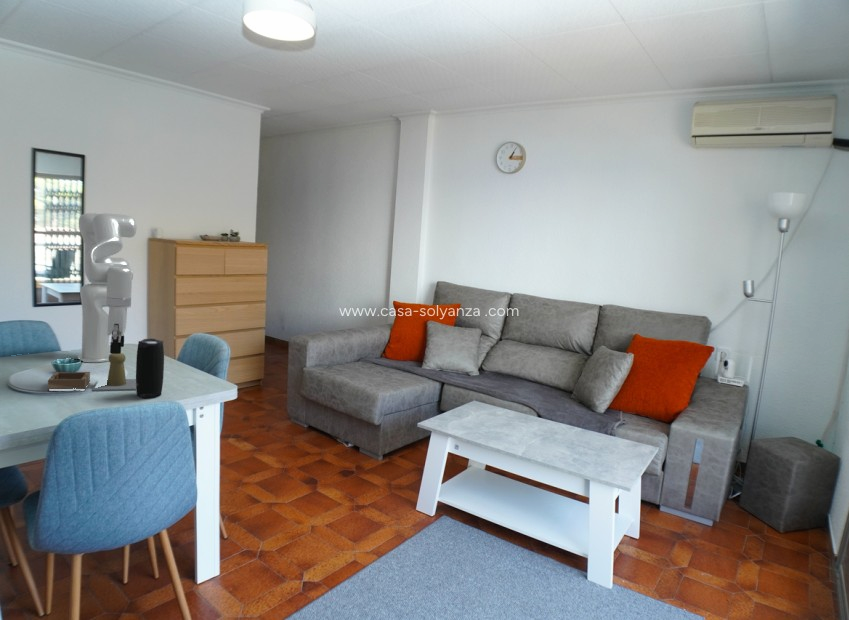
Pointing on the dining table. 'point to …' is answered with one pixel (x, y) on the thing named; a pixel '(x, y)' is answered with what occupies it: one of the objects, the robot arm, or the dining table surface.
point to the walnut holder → (69, 380)
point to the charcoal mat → (128, 386)
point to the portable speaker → (149, 368)
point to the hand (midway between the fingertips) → (117, 350)
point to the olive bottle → (116, 370)
